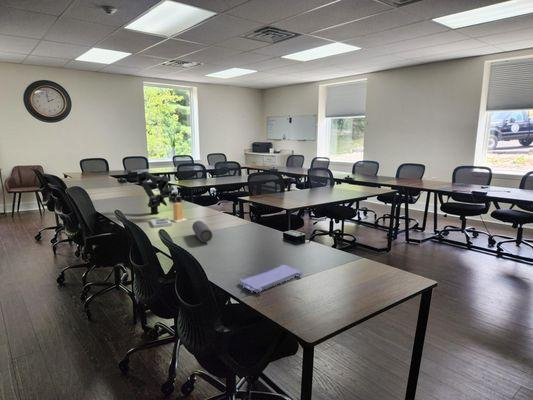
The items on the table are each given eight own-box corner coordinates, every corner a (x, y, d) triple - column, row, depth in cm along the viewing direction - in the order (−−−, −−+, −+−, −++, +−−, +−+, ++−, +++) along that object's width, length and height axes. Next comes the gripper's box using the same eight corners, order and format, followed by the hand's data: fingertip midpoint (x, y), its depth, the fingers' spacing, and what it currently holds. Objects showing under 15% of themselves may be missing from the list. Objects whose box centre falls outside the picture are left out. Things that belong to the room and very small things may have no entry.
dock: (150, 221, 258) (150, 218, 257) (167, 220, 263) (167, 217, 263) (153, 227, 242) (153, 224, 241) (172, 225, 247) (171, 222, 247)
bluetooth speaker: (191, 234, 226) (191, 220, 224) (205, 233, 229) (204, 219, 227) (198, 244, 205) (198, 229, 203) (213, 243, 209) (213, 227, 207)
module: (173, 219, 262) (173, 203, 260) (179, 218, 266) (178, 202, 264) (177, 220, 259) (176, 204, 257) (182, 219, 263) (182, 203, 261)
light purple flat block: (235, 285, 151) (256, 297, 141) (234, 277, 151) (256, 288, 140) (281, 268, 171) (303, 277, 161) (281, 260, 171) (303, 269, 160)
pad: (169, 220, 262) (169, 219, 262) (179, 217, 270) (179, 217, 270) (176, 222, 256) (176, 221, 256) (187, 220, 264) (187, 219, 263)
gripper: (156, 184, 259) (165, 200, 254) (176, 182, 273) (185, 196, 268) (151, 193, 265) (160, 208, 260) (171, 190, 279) (179, 205, 274)
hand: (171, 204), depth 266 cm, fingers open, 9 cm apart
